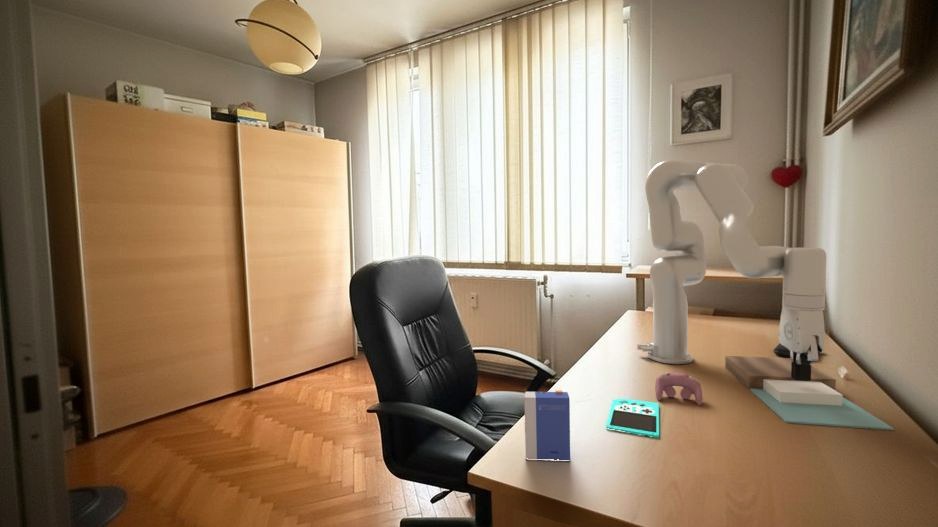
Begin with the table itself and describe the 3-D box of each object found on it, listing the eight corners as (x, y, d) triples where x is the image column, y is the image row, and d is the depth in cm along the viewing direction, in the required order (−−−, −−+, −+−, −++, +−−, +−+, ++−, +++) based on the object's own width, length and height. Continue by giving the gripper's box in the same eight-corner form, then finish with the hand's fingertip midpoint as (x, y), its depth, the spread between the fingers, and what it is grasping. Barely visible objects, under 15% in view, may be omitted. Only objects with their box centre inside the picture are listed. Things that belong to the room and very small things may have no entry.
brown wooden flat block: (749, 389, 101) (749, 375, 101) (725, 367, 117) (725, 355, 116) (835, 393, 97) (835, 379, 97) (798, 371, 112) (799, 358, 112)
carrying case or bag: (817, 364, 118) (823, 352, 129) (817, 353, 118) (823, 343, 128) (772, 356, 126) (781, 346, 136) (772, 347, 126) (781, 337, 136)
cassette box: (779, 402, 92) (780, 391, 92) (763, 388, 100) (763, 379, 100) (842, 405, 90) (842, 395, 90) (820, 391, 98) (820, 381, 97)
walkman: (568, 453, 75) (567, 390, 74) (570, 462, 72) (569, 396, 71) (524, 452, 76) (523, 389, 75) (525, 460, 73) (523, 395, 72)
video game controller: (701, 407, 96) (700, 376, 98) (703, 405, 92) (702, 373, 94) (655, 401, 100) (655, 372, 102) (655, 399, 96) (655, 369, 98)
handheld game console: (659, 408, 93) (659, 402, 93) (660, 441, 79) (660, 434, 79) (613, 401, 98) (613, 396, 98) (605, 432, 83) (605, 426, 83)
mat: (786, 422, 84) (786, 420, 84) (749, 389, 101) (749, 388, 101) (893, 430, 79) (893, 428, 79) (836, 394, 96) (836, 393, 96)
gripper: (768, 296, 102) (767, 368, 103) (802, 307, 87) (799, 391, 89) (803, 296, 100) (801, 369, 101) (844, 307, 85) (840, 393, 87)
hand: (800, 379), depth 95 cm, fingers closed
